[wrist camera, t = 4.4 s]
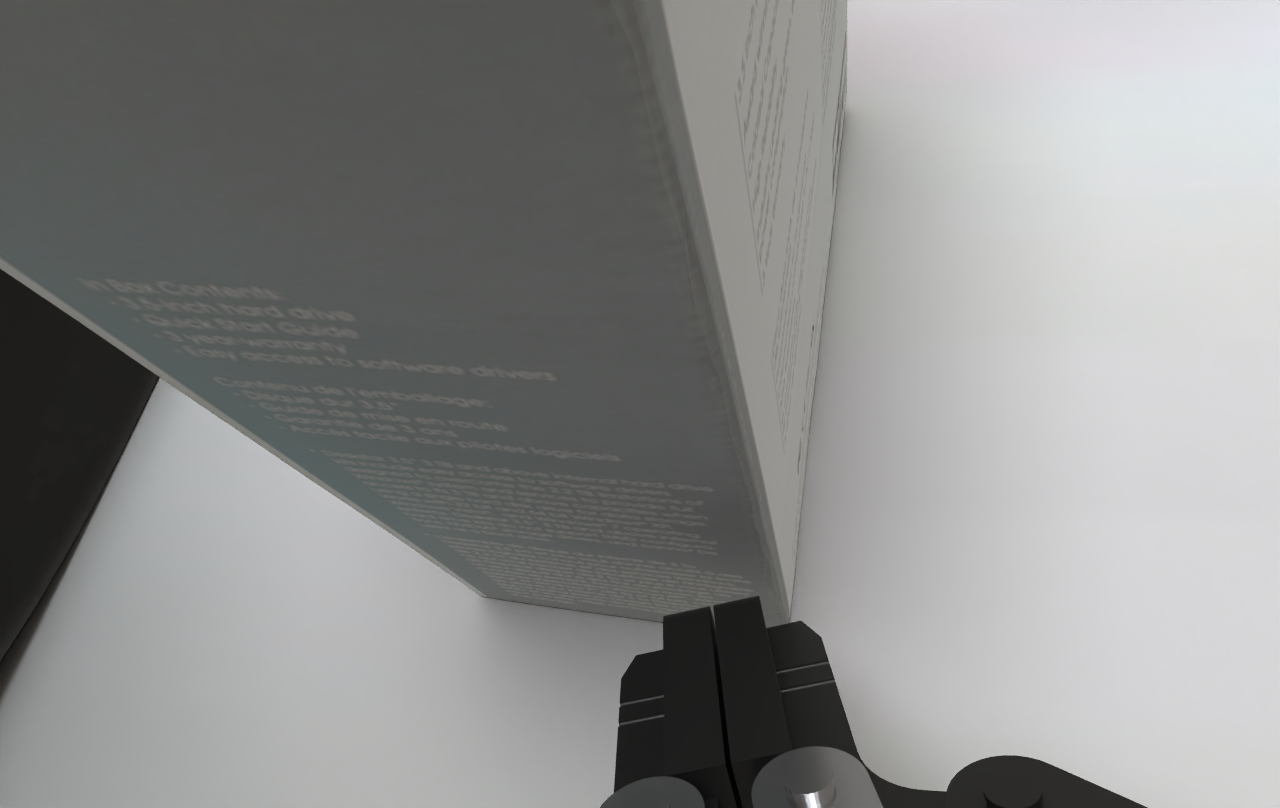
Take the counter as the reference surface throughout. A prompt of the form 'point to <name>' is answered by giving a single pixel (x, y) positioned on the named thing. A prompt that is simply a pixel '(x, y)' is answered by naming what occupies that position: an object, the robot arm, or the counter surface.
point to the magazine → (54, 439)
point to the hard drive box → (462, 260)
